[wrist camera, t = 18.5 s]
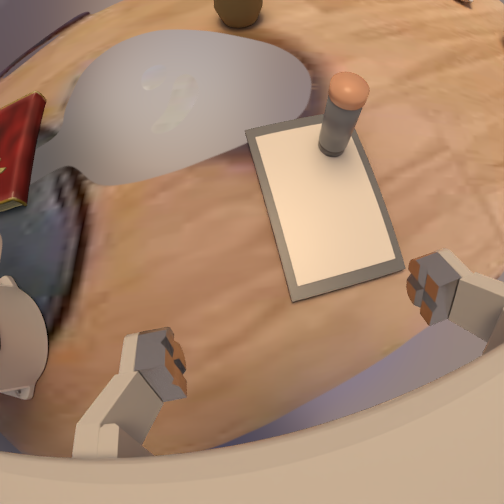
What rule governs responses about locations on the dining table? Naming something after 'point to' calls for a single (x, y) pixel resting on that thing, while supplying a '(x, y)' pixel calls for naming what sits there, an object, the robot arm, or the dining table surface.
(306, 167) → the writing board
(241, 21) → the squeeze bottle
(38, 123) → the hardcover book
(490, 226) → the dining table surface
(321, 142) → the marker
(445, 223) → the dining table surface
